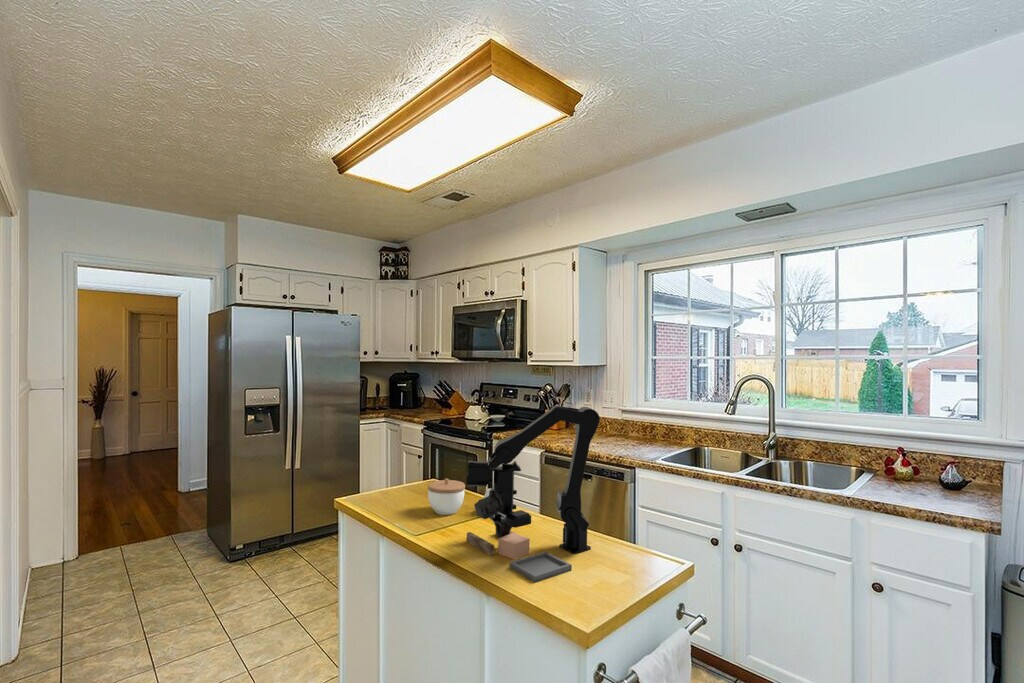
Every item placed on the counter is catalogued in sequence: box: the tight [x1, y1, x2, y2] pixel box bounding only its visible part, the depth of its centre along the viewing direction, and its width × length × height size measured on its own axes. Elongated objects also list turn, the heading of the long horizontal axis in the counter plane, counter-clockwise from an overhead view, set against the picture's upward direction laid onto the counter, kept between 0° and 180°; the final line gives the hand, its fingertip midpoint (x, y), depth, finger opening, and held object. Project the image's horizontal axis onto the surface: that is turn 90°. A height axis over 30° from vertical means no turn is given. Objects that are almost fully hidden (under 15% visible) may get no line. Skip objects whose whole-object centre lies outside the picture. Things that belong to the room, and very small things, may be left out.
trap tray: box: [509, 551, 573, 583], centre depth 127 cm, size 10×12×1 cm
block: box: [497, 532, 531, 561], centre depth 137 cm, size 6×6×4 cm
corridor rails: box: [466, 529, 517, 556], centre depth 143 cm, size 12×11×2 cm
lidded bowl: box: [427, 478, 466, 516], centre depth 171 cm, size 13×13×11 cm
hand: (502, 542), depth 140 cm, fingers closed
